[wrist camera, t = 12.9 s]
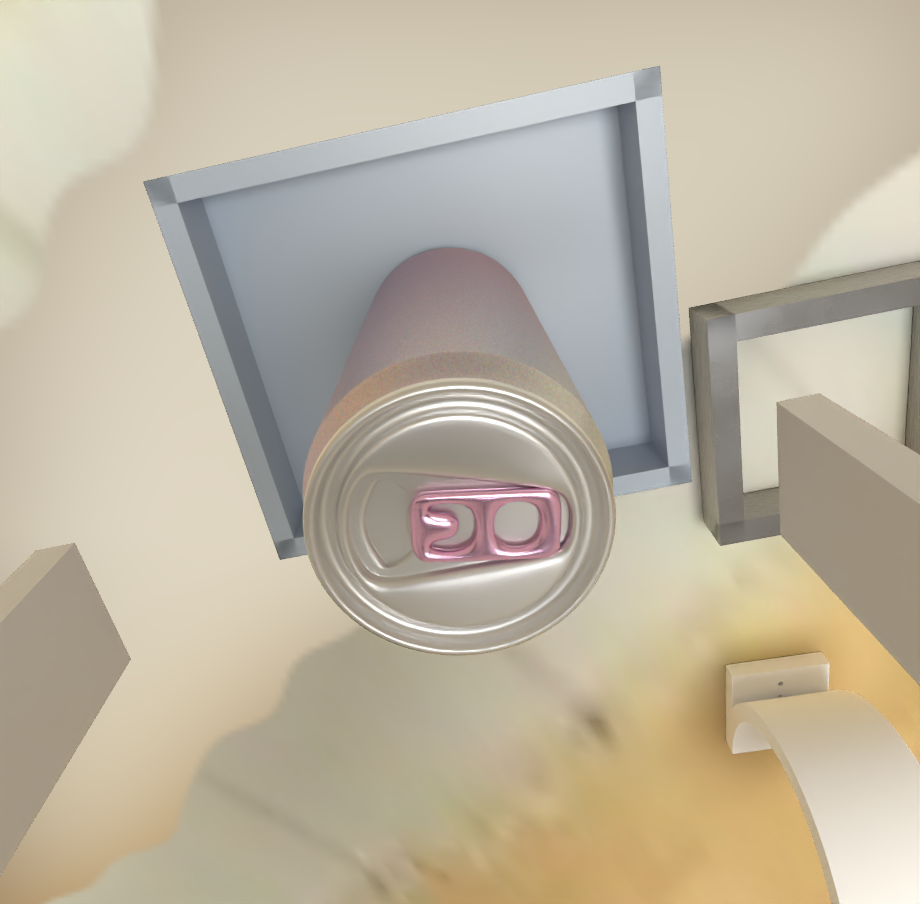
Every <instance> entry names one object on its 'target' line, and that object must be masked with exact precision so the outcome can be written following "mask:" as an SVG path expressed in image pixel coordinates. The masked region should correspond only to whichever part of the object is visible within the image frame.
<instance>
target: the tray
mask: <svg viewBox="0 0 920 904" xmlns="http://www.w3.org/2000/svg"><path fill="white" fill-rule="evenodd" d="M144 185H145V188H146V191H147V193H148V196H149V199H150V202H151V204H152V207H153V210H154V213H155V216H156V218H157V221H158V224H159V226H160V229H161V232H162V235H163V237H164V240H165V243H166V246H167V249H168V251H169V254H170V257H171V260H172V263H173V265H174V268H175V271H176V273H177V276H178V279H179V282H180V285H181V287H182V290H183V293H184V296H185V298H186V301H187V304H188V307H189V309H190V312H191V315H192V318H193V321H194V323H195V326H196V329H197V331H198V334H199V337H200V340H201V343H202V345H203V348H204V351H205V354H206V357H207V359H208V362H209V365H210V368H211V370H212V373H213V376H214V378H215V381H216V384H217V387H218V390H219V393H220V395H221V398H222V400H223V403H224V406H225V409H226V412H227V415H228V417H229V420H230V423H231V426H232V428H233V431H234V434H235V437H236V440H237V442H238V445H239V448H240V451H241V453H242V456H243V459H244V462H245V464H246V467H247V470H248V473H249V475H250V478H251V481H252V484H253V486H254V489H255V492H256V495H257V498H258V500H259V503H260V506H261V509H262V511H263V514H264V517H265V520H266V522H267V525H268V528H269V531H270V533H271V536H272V539H273V542H274V544H275V547H276V550H277V553H278V556H279V558H280V560H281V559H286V558H292V557H297V556H302V555H308V553H307V549H306V544H305V539H304V531H303V476H304V470H305V464H306V460H307V457H308V453H309V450H310V448H311V445H312V442H313V440H314V438H315V435H316V433H317V431H318V428H319V426H320V424H321V421H322V419H323V417H324V414H325V412H326V410H327V407H328V405H329V403H330V400H331V398H332V396H333V393H334V391H335V389H336V386H337V384H338V382H339V379H340V377H341V375H342V372H343V370H344V368H345V365H346V363H347V361H348V358H349V356H350V354H351V351H352V349H353V347H354V344H355V342H356V340H357V337H358V335H359V333H360V330H361V328H362V326H363V324H364V321H365V319H366V317H367V314H368V312H369V310H370V307H371V305H372V303H373V300H374V298H375V296H376V294H377V292H378V290H379V288H380V286H381V285H382V283H383V282H384V281H385V279H386V278H387V277H388V276H389V275H390V273H391V272H392V271H393V270H395V269H396V268H397V267H398V266H399V265H401V264H402V263H403V262H405V261H406V260H408V259H410V258H411V257H413V256H415V255H418V254H420V253H423V252H426V251H429V250H433V249H439V248H462V249H468V250H472V251H475V252H478V253H481V254H484V255H486V256H488V257H490V258H492V259H493V260H495V261H496V262H498V263H499V264H501V265H502V266H503V267H504V268H506V269H507V270H508V271H509V272H510V273H511V274H512V275H513V277H514V278H515V279H516V280H517V282H518V283H519V285H520V286H521V288H522V289H523V291H524V293H525V295H526V297H527V299H528V300H529V302H530V304H531V306H532V308H533V310H534V311H535V313H536V315H537V317H538V319H539V321H540V322H541V324H542V326H543V328H544V330H545V332H546V333H547V335H548V337H549V339H550V341H551V343H552V345H553V346H554V348H555V350H556V352H557V354H558V356H559V357H560V359H561V361H562V363H563V365H564V367H565V368H566V370H567V372H568V374H569V376H570V378H571V379H572V381H573V383H574V385H575V387H576V389H577V390H578V392H579V394H580V396H581V398H582V400H583V402H584V403H585V405H586V407H587V409H588V411H589V413H590V414H591V416H592V418H593V420H594V422H595V424H596V425H597V427H598V429H599V431H600V433H601V435H602V437H603V440H604V442H605V445H606V448H607V450H608V454H609V458H610V462H611V467H612V473H613V492H614V496H620V495H625V494H630V493H635V492H641V491H646V490H651V489H657V488H662V487H667V486H672V485H678V484H683V483H688V482H692V479H691V466H690V453H689V440H688V427H687V413H686V400H685V387H684V374H683V361H682V348H681V335H680V322H679V309H678V296H677V283H676V271H675V270H676V269H675V256H674V243H673V230H672V217H671V204H670V191H669V178H668V165H667V152H666V138H665V126H664V112H663V100H662V86H661V73H660V66H656V67H651V68H647V69H642V70H638V71H634V72H629V73H625V74H620V75H616V76H611V77H607V78H603V79H598V80H594V81H590V82H585V83H580V84H576V85H572V86H567V87H562V88H558V89H554V90H549V91H545V92H541V93H536V94H531V95H527V96H522V97H518V98H513V99H509V100H505V101H500V102H496V103H491V104H487V105H482V106H478V107H474V108H469V109H465V110H460V111H456V112H451V113H447V114H442V115H438V116H433V117H429V118H424V119H420V120H416V121H411V122H407V123H402V124H398V125H393V126H389V127H385V128H380V129H376V130H371V131H367V132H362V133H358V134H353V135H349V136H344V137H340V138H335V139H331V140H327V141H323V142H318V143H313V144H309V145H304V146H300V147H295V148H291V149H287V150H282V151H277V152H273V153H269V154H264V155H260V156H255V157H251V158H247V159H242V160H237V161H234V162H229V163H224V164H220V165H215V166H211V167H206V168H202V169H198V170H193V171H189V172H184V173H180V174H175V175H171V176H166V177H162V178H157V179H153V180H148V181H144Z"/></svg>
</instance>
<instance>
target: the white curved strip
mask: <svg viewBox="0 0 920 904" xmlns="http://www.w3.org/2000/svg"><path fill="white" fill-rule="evenodd" d="M829 670H830V663H829V661H828V660H827V659H826V657H825V656H824V655H823V653H822V652H815V653H808V654H801V655H794V656H787V657H780V658H772V659H765V660H758V661H751V662H744V663H737V664H730V665H726V742H727V744H728V746H729V748H730V750H731V752H732V754H737V753H744V752H752V751H759V750H767V749H773V750H774V752H775V754H776V755H777V757H778V759H779V761H780V762H781V764H782V766H783V768H784V770H785V772H786V774H787V776H788V778H789V780H790V782H791V784H792V786H793V789H794V791H795V793H796V795H797V798H798V800H799V803H800V805H801V808H802V810H803V812H804V815H805V818H806V820H807V823H808V826H809V828H810V831H811V834H812V837H813V840H814V843H815V846H816V849H817V852H818V855H819V859H820V862H821V865H822V869H823V872H824V876H825V880H826V883H827V887H828V891H829V895H830V900H831V904H920V764H919V763H918V761H917V759H916V758H915V756H914V755H913V753H912V752H911V750H910V749H909V747H908V746H907V744H906V743H905V741H904V740H903V739H902V737H901V736H900V735H899V733H898V732H897V731H896V729H895V728H894V727H893V726H892V724H891V723H890V722H889V721H888V720H887V719H886V718H885V717H884V715H883V714H882V713H881V712H880V711H879V710H878V709H877V708H875V707H874V706H873V705H872V704H871V703H870V702H868V701H867V700H866V699H864V698H863V697H861V696H860V695H858V694H856V693H854V692H851V691H849V690H843V689H841V690H832V691H828V685H829Z"/></svg>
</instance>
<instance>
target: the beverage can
mask: <svg viewBox="0 0 920 904" xmlns="http://www.w3.org/2000/svg"><path fill="white" fill-rule="evenodd" d="M615 523H616V509H615V499H614V492H613V473H612V467H611V462H610V458H609V454H608V450H607V448H606V445H605V442H604V440H603V437H602V435H601V433H600V431H599V429H598V427H597V425H596V424H595V422H594V420H593V418H592V416H591V414H590V413H589V411H588V409H587V407H586V405H585V403H584V402H583V400H582V398H581V396H580V394H579V392H578V390H577V389H576V387H575V385H574V383H573V381H572V379H571V378H570V376H569V374H568V372H567V370H566V368H565V367H564V365H563V363H562V361H561V359H560V357H559V356H558V354H557V352H556V350H555V348H554V346H553V345H552V343H551V341H550V339H549V337H548V335H547V333H546V332H545V330H544V328H543V326H542V324H541V322H540V321H539V319H538V317H537V315H536V313H535V311H534V310H533V308H532V306H531V304H530V302H529V300H528V299H527V297H526V295H525V293H524V291H523V289H522V288H521V286H520V285H519V283H518V282H517V280H516V279H515V278H514V277H513V275H512V274H511V273H510V272H509V271H508V270H507V269H506V268H504V267H503V266H502V265H501V264H499V263H498V262H496V261H495V260H493V259H492V258H490V257H488V256H486V255H484V254H481V253H478V252H475V251H472V250H468V249H462V248H439V249H433V250H429V251H426V252H423V253H420V254H418V255H415V256H413V257H411V258H410V259H408V260H406V261H405V262H403V263H402V264H401V265H399V266H398V267H397V268H396V269H395V270H393V271H392V272H391V273H390V275H389V276H388V277H387V278H386V279H385V281H384V282H383V283H382V285H381V286H380V288H379V290H378V292H377V294H376V296H375V298H374V300H373V303H372V305H371V307H370V310H369V312H368V314H367V317H366V319H365V321H364V324H363V326H362V328H361V330H360V333H359V335H358V337H357V340H356V342H355V344H354V347H353V349H352V351H351V354H350V356H349V358H348V361H347V363H346V365H345V368H344V370H343V372H342V375H341V377H340V379H339V382H338V384H337V386H336V389H335V391H334V393H333V396H332V398H331V400H330V403H329V405H328V407H327V410H326V412H325V414H324V417H323V419H322V421H321V424H320V426H319V428H318V431H317V433H316V435H315V438H314V440H313V442H312V445H311V448H310V450H309V453H308V457H307V460H306V464H305V470H304V476H303V531H304V539H305V544H306V549H307V553H308V556H309V559H310V562H311V564H312V567H313V569H314V571H315V573H316V575H317V577H318V579H319V581H320V582H321V584H322V586H323V587H324V589H325V590H326V592H327V593H328V595H329V596H330V597H331V598H332V599H333V601H334V602H335V603H336V604H337V605H338V606H339V607H340V608H341V609H342V610H343V611H344V612H345V613H346V614H347V615H348V616H349V617H350V618H351V619H353V620H354V621H355V622H357V623H358V624H359V625H361V626H362V627H364V628H365V629H367V630H368V631H370V632H372V633H373V634H375V635H377V636H379V637H381V638H383V639H385V640H387V641H389V642H392V643H394V644H397V645H400V646H403V647H406V648H409V649H413V650H417V651H421V652H427V653H433V654H441V655H473V654H482V653H488V652H493V651H498V650H502V649H506V648H509V647H512V646H515V645H518V644H521V643H523V642H525V641H528V640H530V639H532V638H534V637H536V636H538V635H540V634H542V633H544V632H545V631H547V630H549V629H550V628H552V627H553V626H555V625H556V624H558V623H559V622H560V621H562V620H563V619H564V618H565V617H567V616H568V615H569V614H570V613H571V612H572V611H573V610H574V609H575V608H576V607H577V606H578V605H579V604H580V603H581V602H582V601H583V600H584V599H585V597H586V596H587V595H588V594H589V592H590V591H591V589H592V588H593V587H594V585H595V584H596V582H597V580H598V579H599V577H600V575H601V573H602V571H603V569H604V567H605V565H606V562H607V560H608V557H609V554H610V551H611V548H612V544H613V539H614V533H615Z"/></svg>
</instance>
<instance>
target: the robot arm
mask: <svg viewBox="0 0 920 904" xmlns="http://www.w3.org/2000/svg"><path fill="white" fill-rule="evenodd" d="M777 436H778V472H779V509H780V535H781V536H782V537H783V538H784V539H785V540H786V541H787V542H788V543H789V544H790V545H791V547H792V548H793V549H794V550H795V551H796V552H797V553H798V554H799V555H800V556H801V557H802V559H803V560H804V561H805V562H806V563H807V564H808V565H809V566H810V567H811V568H812V569H813V570H814V572H815V573H816V574H817V575H818V576H819V577H820V578H821V579H822V580H823V581H824V582H825V584H826V585H827V586H828V587H829V588H830V589H831V590H832V591H833V592H834V593H835V594H836V595H837V597H838V598H839V599H840V600H841V601H842V602H843V603H844V604H845V605H846V606H847V607H848V609H849V610H850V611H851V612H852V613H853V614H854V615H855V616H856V617H857V618H858V619H859V620H860V622H861V623H862V624H863V625H864V626H865V627H866V628H867V629H868V630H869V631H870V632H871V634H872V635H873V636H874V637H875V638H876V639H877V640H878V641H879V642H880V643H881V644H882V645H883V647H884V648H885V649H886V650H887V651H888V652H889V653H890V654H891V655H892V656H893V657H894V658H895V660H896V661H897V662H898V663H899V664H900V665H901V666H902V667H903V668H904V669H905V670H906V672H907V673H908V674H909V675H910V676H911V677H912V678H913V679H914V680H915V681H916V682H917V683H918V685H919V686H920V455H919V454H918V453H916V452H914V451H913V450H911V449H909V448H908V447H906V446H905V445H903V444H901V443H900V442H898V441H896V440H895V439H893V438H891V437H890V436H888V435H887V434H885V433H883V432H882V431H880V430H878V429H877V428H875V427H873V426H872V425H870V424H869V423H867V422H865V421H864V420H862V419H860V418H859V417H857V416H855V415H854V414H852V413H851V412H849V411H847V410H846V409H844V408H842V407H841V406H839V405H838V404H836V403H834V402H833V401H831V400H829V399H828V398H826V397H824V396H823V395H821V394H815V395H810V396H805V397H800V398H795V399H790V400H785V401H780V402H777ZM130 659H131V658H130V656H129V655H128V652H127V650H126V648H125V646H124V644H123V642H122V640H121V638H120V636H119V634H118V632H117V629H116V627H115V625H114V623H113V621H112V619H111V617H110V615H109V613H108V611H107V609H106V607H105V605H104V603H103V601H102V599H101V596H100V594H99V592H98V590H97V588H96V586H95V585H94V582H93V580H92V578H91V576H90V574H89V571H88V570H87V567H86V565H85V563H84V561H83V559H82V557H81V555H80V553H79V551H78V549H77V547H76V545H75V543H73V544H67V545H62V546H57V547H52V548H47V549H43V550H38V551H35V552H34V553H33V554H32V555H31V556H30V557H29V558H28V559H27V560H26V561H25V562H24V563H23V564H22V565H21V566H20V567H19V568H18V569H17V570H16V571H15V572H14V573H13V574H12V575H11V576H10V577H9V578H8V579H7V580H6V581H5V582H4V583H3V584H2V585H1V586H0V876H1V874H2V872H3V871H4V869H5V867H6V866H7V864H8V862H9V861H10V859H11V857H12V856H13V854H14V852H15V851H16V849H17V847H18V846H19V844H20V842H21V840H22V839H23V837H24V835H25V834H26V832H27V831H28V829H29V827H30V826H31V824H32V822H33V821H34V819H35V817H36V816H37V814H38V812H39V811H40V809H41V807H42V806H43V804H44V803H45V801H46V799H47V797H48V796H49V794H50V793H51V791H52V789H53V788H54V786H55V784H56V783H57V781H58V779H59V777H60V776H61V774H62V773H63V771H64V769H65V768H66V766H67V764H68V762H69V761H70V759H71V758H72V756H73V754H74V752H75V751H76V749H77V748H78V746H79V744H80V743H81V741H82V739H83V738H84V736H85V734H86V733H87V731H88V729H89V728H90V726H91V724H92V723H93V721H94V719H95V718H96V716H97V714H98V713H99V711H100V709H101V708H102V706H103V704H104V703H105V701H106V699H107V698H108V696H109V694H110V693H111V691H112V689H113V688H114V686H115V684H116V683H117V681H118V680H119V678H120V676H121V675H122V673H123V671H124V670H125V668H126V666H127V665H128V663H129V661H130Z"/></svg>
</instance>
